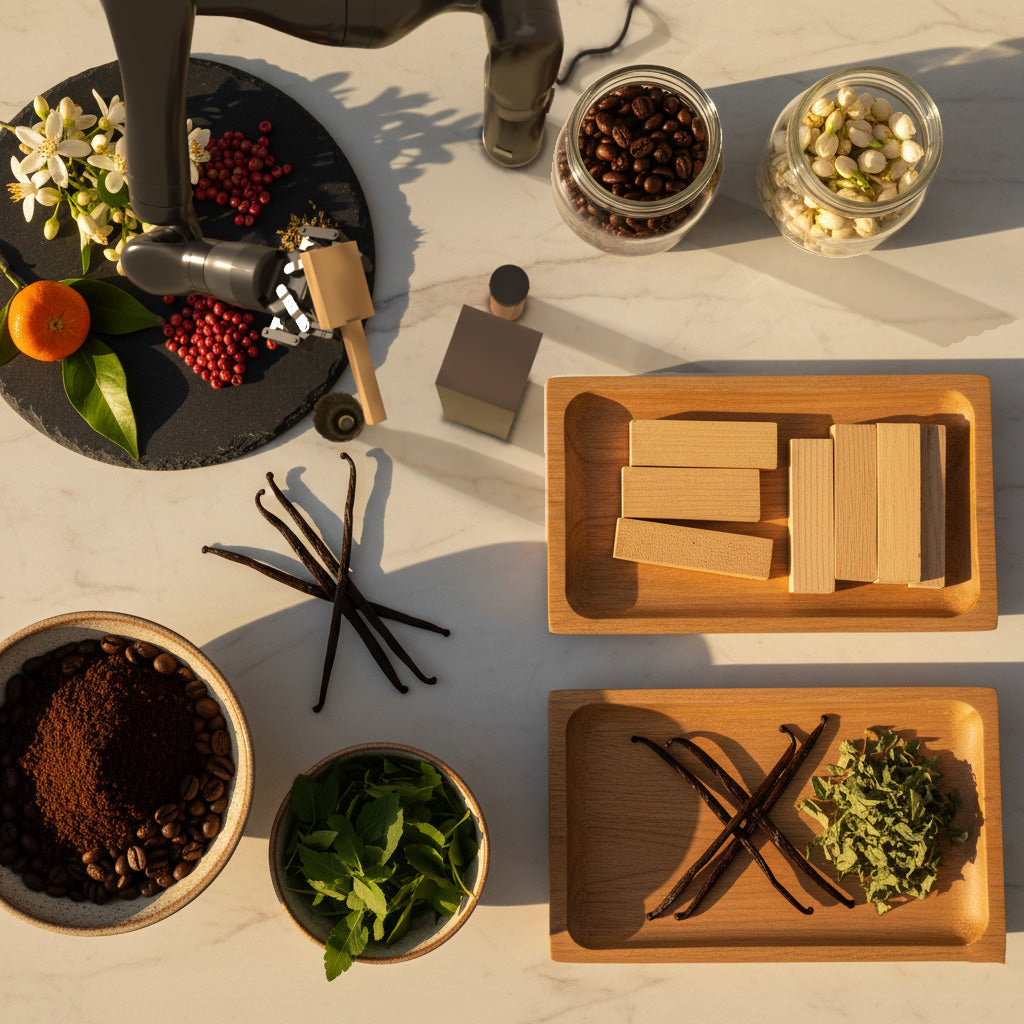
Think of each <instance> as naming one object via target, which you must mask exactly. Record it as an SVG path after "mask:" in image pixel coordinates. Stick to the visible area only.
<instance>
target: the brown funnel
mask: <svg viewBox="0 0 1024 1024" xmlns="http://www.w3.org/2000/svg"><path fill="white" fill-rule="evenodd" d="M313 408H314V413H313V414H314V415H313V416H312V422H313V427H314V429H315V431H316V432H317V433H318V434H319V435H321V438H323V439H324V440H328V442H330V443H336V444H337V443H338V444H339V443H347V442H350V441H353V440H355V439H356V438H358V437H359V435H360V434H361V433H362V432H363V430H364V427H365V422H366V419H365V415H364V412H363V408H362V405H361V402H359V400H358V399H357V397H356V396H353V395H352V394H349V393H348V392H345V391H338V392H335V391H331V392H330V394H324V395H322V396H321V397H320V398H319V400H318V401H317V402H315V404H314V407H313ZM346 419H349V420H350V421H351V426H350V427H349V428H345V427H344V426H343V421H344V420H346Z"/></svg>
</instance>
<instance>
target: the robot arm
mask: <svg viewBox="0 0 1024 1024" xmlns="http://www.w3.org/2000/svg"><path fill="white" fill-rule="evenodd" d="M98 2H99V4H100V6H101V10H102V11H103V12H104V15H105V18H106V22H107V25H108V28H109V32H110V35H111V40H112V43H113V46H114V49H115V53H116V54H115V55H116V58H117V61H118V66H119V70H120V76H121V82H122V90H123V97H124V98H123V99H124V156H125V158H124V159H125V167H126V178H127V186H128V187H127V188H128V195H129V203H130V207H131V210H132V212H133V214H134V215H135V216H136V217H137V218H138V220H141V221H142V222H144V223H145V224H149V225H151V226H156V227H160V228H156V229H154V230H151V231H148V232H146V233H143V234H140V235H137V236H135V237H133V238H131V239H129V240H128V241H127V242H126V243H125V244H124V246H123V247H122V249H121V251H120V265H121V268H122V271H123V273H124V275H125V276H126V278H127V279H128V281H130V282H131V284H133V285H134V286H135V287H136V288H137V289H140V290H141V291H143V292H145V293H147V294H150V295H154V296H161V297H181V296H183V297H184V296H185V297H186V296H197V295H198V296H204V297H208V298H212V299H216V300H221V301H223V302H226V303H228V304H230V305H232V306H235V307H239V308H241V309H244V310H252V311H256V312H259V313H264V314H269V315H272V316H273V318H272V321H271V325H270V326H269V327H268V326H266V327H264V328H263V329H262V331H261V336H262V337H264V338H265V339H267V340H269V341H270V342H273V343H275V344H276V345H279V346H282V347H286V348H287V349H288V348H289V349H293V350H295V351H299V352H303V353H306V354H311V353H312V352H313V350H314V348H315V347H314V344H315V342H316V341H318V340H321V341H325V342H328V343H333V344H340V343H341V340H343V336H342V333H341V329H340V327H337V328H333V329H324V330H321V328H320V324H319V321H318V317H317V315H315V312H314V310H313V309H312V308H313V307H314V304H313V300H312V297H311V293H310V290H309V286H308V283H307V279H306V276H305V272H304V269H303V265H302V262H301V258H300V255H299V254H300V253H304V252H308V251H312V250H317V249H321V248H323V247H324V248H325V247H329V246H333V245H337V244H342V243H346V242H352V240H351V239H350V238H348V237H346V235H344V234H342V233H341V231H339V230H338V229H335V228H328V227H320V226H313V225H304V224H303V225H302V226H301V227H300V228H299V230H298V231H299V232H298V233H299V235H301V236H302V240H301V242H300V246H299V248H296V249H294V250H287V249H286V250H285V249H282V248H277V247H271V246H266V245H262V244H261V245H260V244H254V243H249V242H245V241H228V240H222V239H217V238H211V237H204V235H203V231H202V229H201V226H200V223H199V221H198V216H197V214H196V212H195V207H194V205H193V187H192V186H193V185H192V169H191V155H190V152H191V151H190V142H189V129H188V115H187V114H188V113H187V111H188V109H187V103H188V102H187V97H188V96H187V94H188V78H189V67H190V58H191V50H192V43H193V36H194V29H195V22H196V17H199V16H200V17H222V18H223V17H224V18H233V19H240V20H245V21H248V22H252V23H255V24H258V25H261V26H263V27H267V28H268V29H272V30H274V31H277V32H279V33H283V34H285V35H287V36H290V37H294V38H297V39H299V40H302V41H306V42H308V43H311V44H316V45H320V46H324V47H332V48H343V49H359V50H379V49H384V48H387V47H390V46H392V45H394V44H396V43H397V42H399V41H401V40H402V39H404V38H405V37H407V36H409V35H410V34H411V33H413V32H414V31H416V30H417V29H418V28H420V27H421V26H423V25H424V24H426V23H427V22H429V21H430V20H432V19H434V18H436V17H439V16H441V15H444V14H445V15H446V14H452V13H453V14H454V13H467V14H476V15H479V16H482V19H483V27H484V32H485V37H486V43H487V50H488V53H487V54H486V56H485V60H484V66H483V125H482V126H483V127H482V128H483V129H482V144H483V148H484V150H485V152H486V153H487V156H489V158H490V159H491V160H492V161H493V162H495V163H496V164H497V165H499V166H502V167H505V168H511V169H512V168H521V167H524V166H526V165H528V164H530V163H531V162H533V161H534V160H535V159H536V158H537V157H538V155H539V153H540V151H541V150H542V145H543V141H544V131H545V125H546V119H547V114H549V113H550V110H551V107H552V105H553V102H554V98H555V92H556V88H555V87H553V86H554V85H555V84H556V85H557V86H563V85H564V84H565V83H566V82H567V81H568V79H569V77H570V76H571V74H572V71H573V69H574V67H575V65H576V63H577V62H578V61H579V60H580V59H581V58H582V57H585V56H587V55H598V54H606V53H610V52H612V51H614V50H615V49H617V47H618V46H620V45H621V43H622V42H623V41H624V39H625V37H626V35H627V33H628V30H629V27H630V23H631V19H632V15H633V11H634V8H635V5H636V4H637V3H638V0H631V1H630V3H629V5H628V9H627V14H626V17H625V22H624V25H623V28H622V31H621V33H620V35H619V37H618V39H616V41H615V42H614V43H612V44H611V45H610V46H606V47H601V48H599V47H598V48H589V49H585V50H582V51H580V52H579V53H577V54H576V55H575V56H574V57H573V58H572V60H571V61H570V63H569V64H568V67H567V69H566V71H565V73H564V76H563V78H562V79H560V78H559V74H560V69H561V66H562V61H563V56H564V52H565V35H564V30H563V23H562V19H561V12H560V7H559V1H558V0H98ZM359 255H360V259H361V262H362V266H363V270H364V272H369V273H371V272H372V269H373V267H374V265H373V264H372V263H371V262H370V261H371V259H370V258H369V257H367V256H366V255H365V254H364V253H362V252H361V251H359ZM292 320H295V322H296V323H297V325H298V327H299V329H300V332H299V334H298V335H296V334H293V333H290V332H289V329H288V328H287V327H286V326H285V323H289V322H290V321H292Z"/></svg>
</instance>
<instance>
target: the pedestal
mask: <svg viewBox="0 0 1024 1024" xmlns="http://www.w3.org/2000/svg"><path fill="white" fill-rule="evenodd" d="M458 315H459V316H458V318H457V322H456V323H455V326H454V329H453V332H452V335H451V337H450V340H449V342H448V346H447V348H446V352H445V354H444V358H443V360H442V363H441V365H440V367H439V371H438V374H437V375H436V378H435V379H436V380H435V381H434V385H435V388H436V393H437V395H438V398H439V400H440V404H441V405H440V406H441V407H442V411H443V414H444V418H445V419H447V420H449V421H453V422H455V423H458V424H460V425H464V426H466V427H469V428H472V429H474V430H476V431H479V432H483V433H484V434H485V433H486V434H488V435H491V436H493V437H497V438H499V439H502V440H505V441H506V440H507V438H508V436H509V432H510V430H511V428H512V425H513V422H514V419H515V415H516V413H517V411H518V407H519V405H520V402H521V399H522V397H523V394H524V391H525V387H526V385H527V382H528V379H529V377H530V375H531V371H532V369H533V365H534V363H535V359H536V356H537V354H538V351H539V347H540V346H541V342H542V340H543V336H544V332H541V331H539V330H536V329H533V328H531V327H528V326H525V325H523V324H520V323H516V322H514V321H513V320H512V321H509V320H506V319H503V318H501V317H498V316H495V315H494V314H493V313H490V312H487V311H484V310H481V309H479V308H476V307H473V306H471V305H467V304H465V303H463V305H462V307H461V310H460V312H459V314H458Z"/></svg>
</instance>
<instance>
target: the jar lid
mask: <svg viewBox="0 0 1024 1024" xmlns="http://www.w3.org/2000/svg"><path fill="white" fill-rule="evenodd" d="M488 286H489V287H488V289H489V294H490V297H491V296H492V298H493V299H494V301H495V302H497V304H499V305H501V306H504V307H507V308H508V307H514V306H518V305H519V304H521V303H522V302H523V301H524V300H525V301H526V300H527V297H528V295H529V293H530V292H529V291H530V289H531V285H530V278H529V276H528V274H527V272H526V271H525V270H524V269H523V268H521V267H520V266H518V265H515V264H513V263H512V264H511V263H508V264H503V265H500V266H498V267H497V268H496V269H495V270H494V271H493V272H492V273H491V276H490V278H489V283H488Z"/></svg>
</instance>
